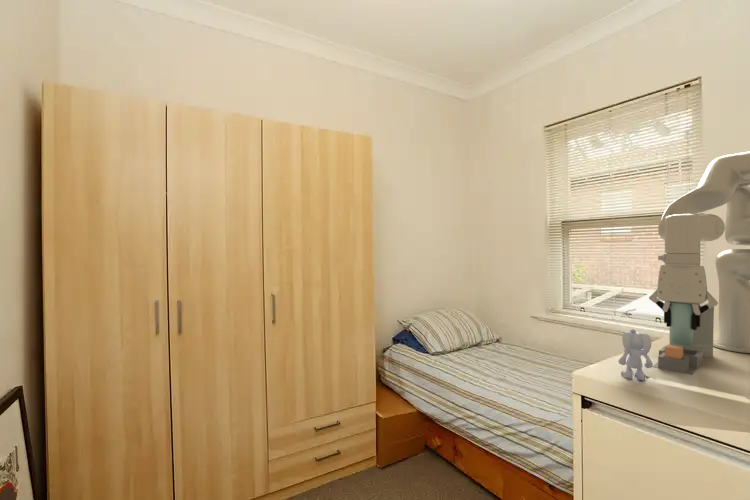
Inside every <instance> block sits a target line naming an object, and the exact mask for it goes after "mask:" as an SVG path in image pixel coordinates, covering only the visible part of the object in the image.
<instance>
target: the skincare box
mask: <svg viewBox="0 0 750 500" xmlns="http://www.w3.org/2000/svg"><path fill="white" fill-rule="evenodd" d="M706 304H707V303H705V302H704V303H701V304H700V306H701V307H702V306H704V305H706ZM670 309H671V307H670ZM693 312H694V310H693ZM714 313H715V306H714V307H712V308H710V309H708V310H706V311H705V312H703V313H702V314H700V327H697V329H696V330H693V345H691V346H687V345H678V344H674V343H671V342H670V341H669V345H673V346H679V347H683V348H685V349H691V350H697V351H703V355H702V357H710V358H711V357H714V346H713V341H714V327H715V326H714V322H715V321H714V315H715V314H714ZM670 329H671V326H670V327H669V330H670Z"/></svg>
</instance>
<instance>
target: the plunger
mask: <svg viewBox="0 0 750 500" xmlns="http://www.w3.org/2000/svg"><path fill="white" fill-rule="evenodd" d="M664 346H665V357H669V358H674V359H680V360H682V359H683V347H679V346H673V345H670V344H667V345H664Z"/></svg>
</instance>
